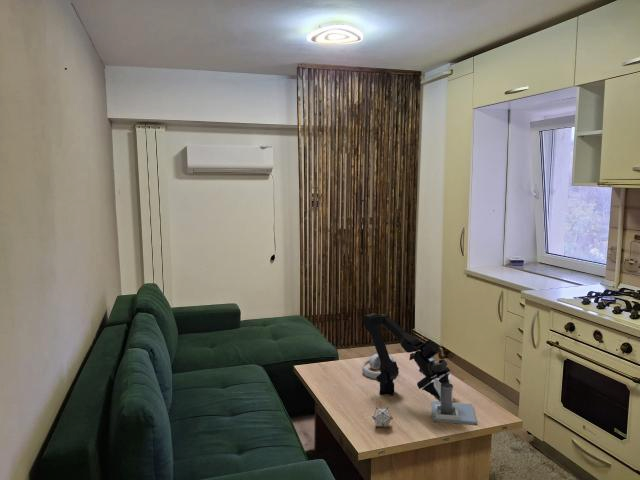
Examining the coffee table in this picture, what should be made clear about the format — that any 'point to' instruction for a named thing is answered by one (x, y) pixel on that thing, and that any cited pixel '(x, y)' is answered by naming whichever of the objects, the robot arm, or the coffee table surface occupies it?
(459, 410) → the grey base plate
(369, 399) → the coffee table surface
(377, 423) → the game die
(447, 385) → the grey tall cup
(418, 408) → the coffee table surface
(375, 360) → the headphones
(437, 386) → the white cup
